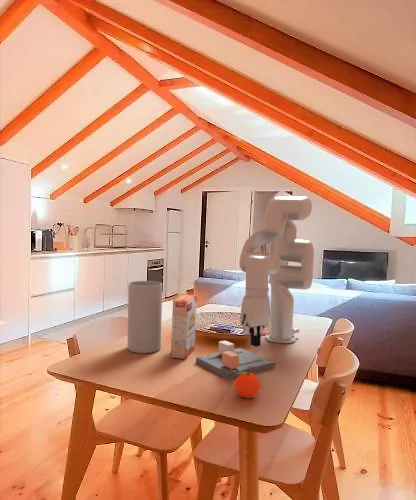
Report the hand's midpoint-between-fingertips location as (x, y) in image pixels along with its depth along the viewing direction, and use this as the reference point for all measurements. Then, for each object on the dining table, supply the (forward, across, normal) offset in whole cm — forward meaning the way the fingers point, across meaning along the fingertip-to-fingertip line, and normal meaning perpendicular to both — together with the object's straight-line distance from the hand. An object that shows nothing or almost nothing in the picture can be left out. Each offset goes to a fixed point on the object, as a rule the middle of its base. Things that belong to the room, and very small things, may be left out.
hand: (255, 345), depth 139 cm
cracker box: (+8, +13, -24) cm, 29 cm away
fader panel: (+7, +5, -4) cm, 10 cm away
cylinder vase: (+8, +23, -36) cm, 44 cm away
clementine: (+6, +19, +17) cm, 26 cm away
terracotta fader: (+4, +12, +1) cm, 12 cm away
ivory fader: (+5, +5, -9) cm, 12 cm away
